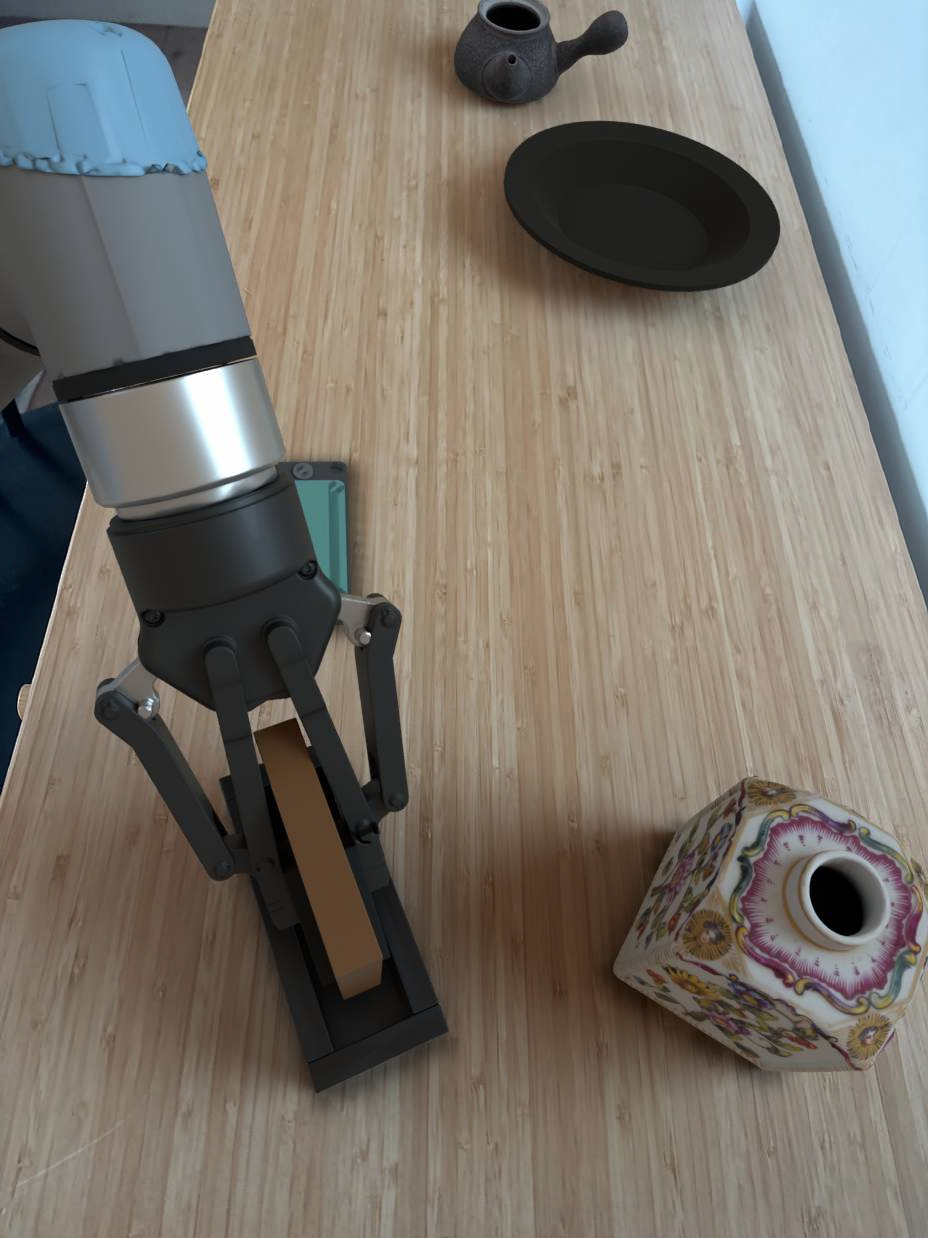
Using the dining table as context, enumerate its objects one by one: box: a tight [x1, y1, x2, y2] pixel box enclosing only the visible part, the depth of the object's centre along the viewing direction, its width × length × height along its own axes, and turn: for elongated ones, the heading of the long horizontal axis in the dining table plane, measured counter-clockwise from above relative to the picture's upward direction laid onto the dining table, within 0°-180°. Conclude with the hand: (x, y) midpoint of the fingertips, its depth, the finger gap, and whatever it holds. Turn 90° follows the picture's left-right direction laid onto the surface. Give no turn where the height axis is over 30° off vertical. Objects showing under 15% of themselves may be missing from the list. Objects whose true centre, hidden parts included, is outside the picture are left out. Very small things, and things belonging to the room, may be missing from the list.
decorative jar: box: [612, 775, 928, 1073], centre depth 51 cm, size 12×12×18 cm
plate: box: [502, 120, 781, 293], centre depth 88 cm, size 28×24×6 cm
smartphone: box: [275, 460, 352, 625], centre depth 70 cm, size 7×1×15 cm
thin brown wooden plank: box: [252, 716, 383, 1000], centre depth 42 cm, size 11×2×12 cm, turn 23°
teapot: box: [453, 0, 629, 104], centre depth 97 cm, size 19×15×10 cm
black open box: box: [218, 744, 450, 1095], centre depth 53 cm, size 18×8×9 cm, turn 23°
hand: (350, 953), depth 42 cm, fingers closed on thin brown wooden plank, 2 cm apart
